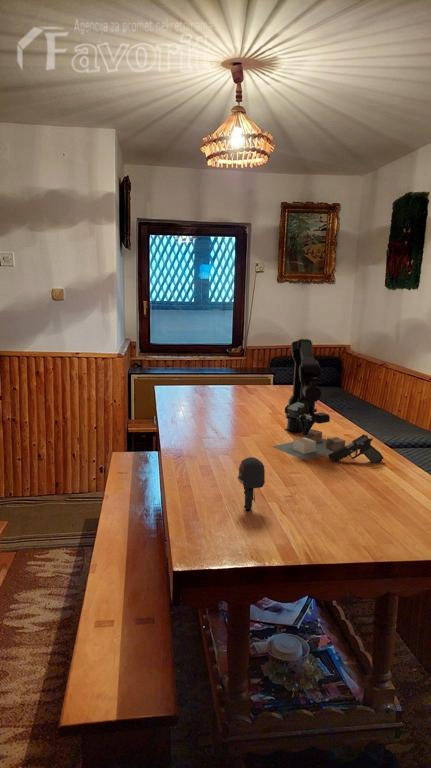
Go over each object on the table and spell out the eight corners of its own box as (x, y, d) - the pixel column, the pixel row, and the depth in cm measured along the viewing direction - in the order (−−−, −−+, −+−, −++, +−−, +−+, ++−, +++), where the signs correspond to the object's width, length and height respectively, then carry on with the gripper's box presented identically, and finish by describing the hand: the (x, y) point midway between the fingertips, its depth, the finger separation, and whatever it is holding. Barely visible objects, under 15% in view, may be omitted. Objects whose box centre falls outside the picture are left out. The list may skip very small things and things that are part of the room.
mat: (271, 447, 196) (271, 446, 196) (317, 437, 210) (317, 437, 210) (303, 461, 181) (303, 460, 181) (351, 449, 196) (351, 448, 196)
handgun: (383, 457, 182) (367, 430, 180) (385, 459, 181) (369, 432, 178) (342, 480, 184) (326, 454, 182) (344, 482, 182) (328, 456, 180)
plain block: (292, 449, 193) (293, 439, 192) (304, 447, 196) (304, 437, 196) (303, 453, 188) (304, 443, 187) (315, 451, 191) (315, 441, 191)
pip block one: (304, 440, 205) (305, 430, 204) (311, 438, 208) (312, 428, 207) (314, 443, 201) (315, 433, 200) (321, 441, 205) (322, 431, 204)
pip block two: (326, 448, 196) (326, 437, 195) (335, 446, 198) (336, 436, 197) (334, 451, 192) (335, 441, 191) (344, 450, 194) (345, 440, 193)
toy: (234, 502, 145) (236, 452, 142) (260, 501, 146) (263, 452, 143) (238, 516, 136) (240, 464, 133) (266, 516, 137) (269, 464, 134)
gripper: (275, 392, 191) (273, 432, 194) (310, 402, 176) (307, 445, 179) (296, 390, 197) (294, 428, 200) (332, 399, 182) (329, 440, 185)
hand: (305, 435), depth 191 cm, fingers closed
